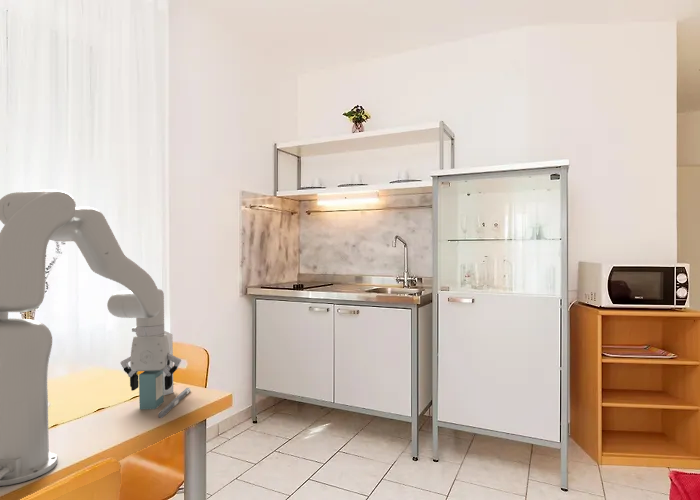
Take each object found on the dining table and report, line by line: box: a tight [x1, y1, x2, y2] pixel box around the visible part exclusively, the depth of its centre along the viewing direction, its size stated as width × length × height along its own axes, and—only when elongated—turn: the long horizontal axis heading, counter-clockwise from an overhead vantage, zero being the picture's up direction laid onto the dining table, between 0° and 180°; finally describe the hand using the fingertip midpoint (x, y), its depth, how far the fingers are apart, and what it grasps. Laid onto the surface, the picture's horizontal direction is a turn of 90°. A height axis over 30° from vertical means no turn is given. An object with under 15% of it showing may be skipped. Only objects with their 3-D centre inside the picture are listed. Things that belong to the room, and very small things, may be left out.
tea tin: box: [138, 370, 165, 410], centre depth 130 cm, size 6×5×10 cm
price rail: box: [158, 387, 191, 418], centre depth 131 cm, size 22×1×1 cm, turn 1°
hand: (151, 388), depth 130 cm, fingers open, 9 cm apart
